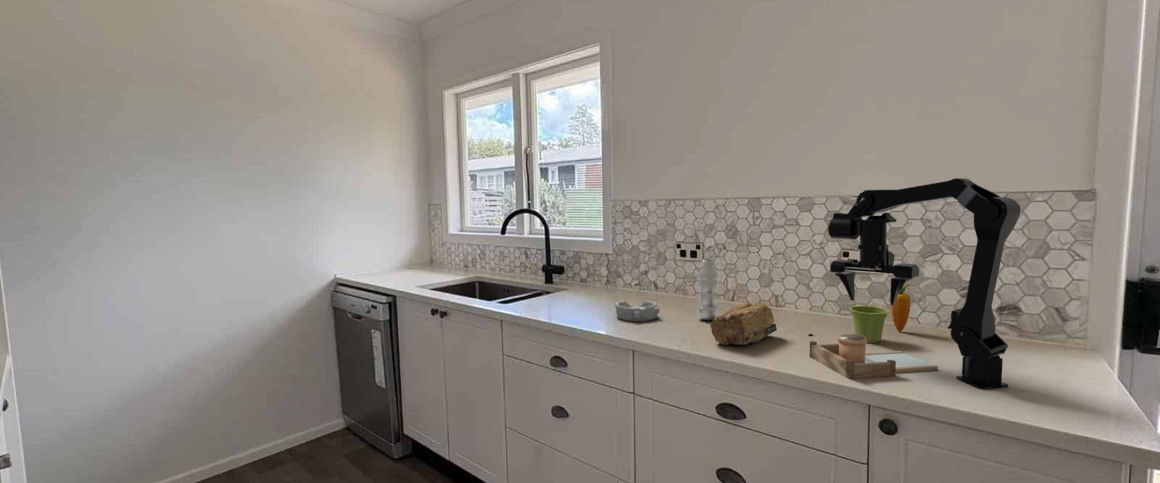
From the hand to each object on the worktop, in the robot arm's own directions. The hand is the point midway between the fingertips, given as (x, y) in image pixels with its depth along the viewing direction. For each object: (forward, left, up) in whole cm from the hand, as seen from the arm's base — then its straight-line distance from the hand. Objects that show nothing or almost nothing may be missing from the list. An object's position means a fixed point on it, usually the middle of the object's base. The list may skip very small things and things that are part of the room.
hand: (872, 302), depth 129 cm
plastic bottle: (+44, +27, -14) cm, 53 cm away
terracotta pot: (-6, +9, -14) cm, 18 cm away
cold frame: (-6, +10, -14) cm, 18 cm away
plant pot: (+13, -8, -14) cm, 21 cm away
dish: (+52, +49, -14) cm, 72 cm away
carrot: (+19, -22, -14) cm, 32 cm away
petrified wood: (+20, +26, -14) cm, 35 cm away
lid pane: (-6, -2, -14) cm, 15 cm away
